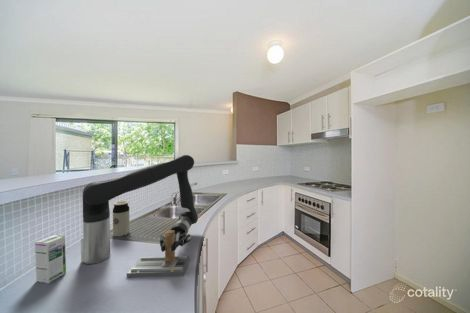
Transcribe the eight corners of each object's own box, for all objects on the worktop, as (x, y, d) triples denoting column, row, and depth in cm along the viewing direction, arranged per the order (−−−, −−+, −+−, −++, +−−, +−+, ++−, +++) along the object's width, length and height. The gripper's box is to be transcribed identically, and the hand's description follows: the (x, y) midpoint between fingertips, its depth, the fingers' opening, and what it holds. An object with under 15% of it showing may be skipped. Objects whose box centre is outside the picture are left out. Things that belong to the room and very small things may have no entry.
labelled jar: (124, 229, 107) (124, 200, 107) (132, 232, 104) (132, 201, 104) (110, 235, 100) (109, 203, 100) (118, 238, 97) (117, 205, 96)
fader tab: (160, 268, 68) (160, 234, 68) (166, 259, 74) (166, 228, 74) (174, 267, 68) (173, 234, 68) (178, 258, 74) (178, 228, 74)
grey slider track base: (126, 277, 66) (126, 271, 66) (140, 261, 76) (140, 255, 76) (183, 275, 66) (183, 269, 66) (189, 259, 76) (189, 254, 76)
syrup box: (48, 284, 63) (47, 243, 62) (35, 281, 64) (34, 241, 64) (66, 273, 68) (65, 235, 68) (54, 271, 69) (53, 234, 69)
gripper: (165, 222, 85) (148, 239, 68) (194, 222, 86) (185, 239, 68) (165, 238, 85) (148, 259, 68) (194, 237, 86) (186, 258, 68)
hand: (167, 249), depth 68 cm, fingers closed on fader tab, 3 cm apart
